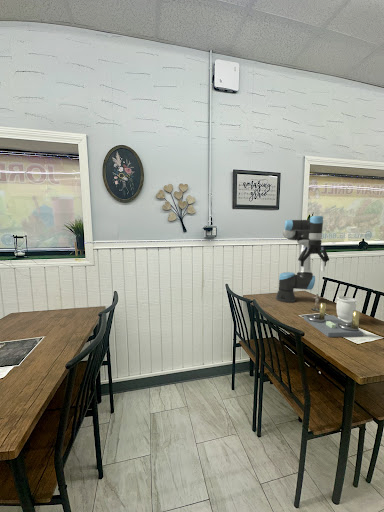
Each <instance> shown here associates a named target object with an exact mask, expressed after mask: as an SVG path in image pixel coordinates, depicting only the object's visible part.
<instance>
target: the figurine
mask: <svg viewBox="0 0 384 512" xmlns="http://www.w3.org/2000/svg"><path fill="white" fill-rule="evenodd" d="M308 298H311V299H314V301H315V304H314V307H312V308H311V310H312V311H313V312H319V313H320V305H319V301H320V299H324V297H322V296H321V297H320V296H319V293H316V296H309V297H308Z"/></svg>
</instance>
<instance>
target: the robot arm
mask: <svg viewBox="0 0 384 512" xmlns="http://www.w3.org/2000/svg"><path fill="white" fill-rule="evenodd" d="M323 225H324V216H322V215H313V216H310V218H309V219H288V220H287V219H286V220H285V221H284V229H283V231H282V234H283V236H284V238H285V239H287V240H290V241H297V242H296V243H297V244H298V259H297V261H298V271H297V272H296V274H295V272H293V271H292V272H290V271H288V272H287V271H286V272H281V273H280V274H279V276H278V277H279V278H278V290H277V293H276V295H275V299H276V300H277V301H279V302H283V303H294V302H296V296H295V292H294V291H295V290H296V289H298V290H306V291H308V290H309V291H310V290H313V289H314V287H315V285H316V284H315V283H316V276H315V275H313V274H314V273H313V272H312V270H311V262H312V261H311V255H312V254H313V255H315V254H316V255H318V257H319V258H320V259H321V260H322V261H321V262H320V271H321V272H325V270H326V269H325V267H326V266H327V262H329V261H330V258H329V255H328V253H327V250H326V246H322V243H323V242H322V237H323Z"/></svg>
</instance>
